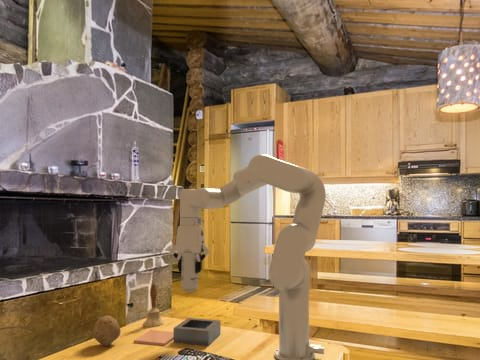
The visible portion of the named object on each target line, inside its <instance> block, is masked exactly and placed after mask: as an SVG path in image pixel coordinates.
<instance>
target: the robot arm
mask: <svg viewBox="0 0 480 360" xmlns="http://www.w3.org/2000/svg"><path fill="white" fill-rule="evenodd" d="M266 185H269V186H271V187H274V188H277V189H279V190H282V191H285V192H287V193H293V194H299V195H298V196H299V200H298V202H297V204H296V207H295V209H294V213H293V219H292V221H291V223H289V224H287V225H284V227H282V228H281V230H280V231H279V233H278V235H277V237H276V241H275V244H274V249H273V252H272V257H271V259H270V260H271V261H270V265H269V267H268V268H269V269H268V278H269V281H270V282H271V284H272V285H273V287H275V288H276V289H277V290H279V292H278V293H279V294H278V331H279V332H278V334H279V335H278V342H279V343H278V344H279V347H277V348H276V349H275V350H274V357H275V358H276V359H277V360H314V359H315V356H316V354H319V355H324V354H325V347H324V346H323V347H322V346H321V345H320V344H314V343H312V339H310V284H311V283H310V282H311V268H310V265H309V263H308V260H306V258H305V256H306V253H307V252H309V251H311V250H312V249H313V248H314V246H315V244H316V241H317V237H318V233H319V229H320V225H321V220H322V216H323V212H324V207H325V204H326V195H327V194H326V188H325V184H324V182H323V181H322V180H321V178H320V177H319V176H318V175H317V174H316V173H315V172H314V171H312V170H311V169H308V168H307V167H306V168H305V167H303V166H300V165H295V164H292V163H290V162H286V161H285V160H281V159H279V158H276V157H275V156H271V155H269V154H266V153H265V154H263V153H260V154H259V153H258V154H257V155H254V156H253V157H252V158H251V159H250V160H249V162H248V164H247V165H246V166H245V167H243V168H241V169H239V170H237V171H235V172H234V173H233V176H232V180H231V181H229V182H228V183H226V184H224V185H222V186H220V187H218V188H212V187H209V188H208V187H201V188H184V189H181V191H180V196H179V198H180V199H179V226H178V227H177V232H176V237H175V238H176V239H175V244H174V245H173V246H172V247H171V249H169V251H170V253H171V254H172V255H173V256H174V258H175V259H176V261H177V269H178V273H182V253H183V252H184V251H185V249H190V251H191V252H192V253H194V254H195V256H196V258H197V262H196V273H198V274H199V273H201V271H202V270H203V267H202V266H203V263H202V262H203V260H204V259H205V258H206V257H207V256H208V255H209V254H210V253H211V250H210V249H209V248H208V247H207V246H206V243H205V242H206V241H205V232H204V226H202V224H204V223H205V219H202V216H201V209H202V210H212V209H213V210H218V209H222V208H224V207H227V206H228V205H231V204H233V203H235V202H237V201H238V200H240V199H241V198H243V197H245V196H246V195H247V194H249V193H252V192H253V191H256V190H258V189H260V188H262V187H264V186H266Z"/></svg>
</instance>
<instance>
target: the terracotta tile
mask: <svg viewBox="0 0 480 360" xmlns="http://www.w3.org/2000/svg"><path fill="white" fill-rule="evenodd" d="M173 339H174V331H169V330H167V331H166V330H157V329H149V330H148V331H147V332H145V333H143V334H141V335H139V336H138V337H136V338H135V339H134V340H133V343H135V344H143V345H153V346H167V345H169V343H171V342H172V341H173Z"/></svg>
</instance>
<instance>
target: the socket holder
mask: <svg viewBox="0 0 480 360" xmlns="http://www.w3.org/2000/svg"><path fill="white" fill-rule="evenodd" d="M173 332H174V339H173V340H172V341H173V343H174V344H182V343H183V345H194V346H205V347H209V346H210V345H211V344H212V343H213V342H214V341H215V340H216V339H217V338H218V337H219V336H220V335H221V320H220V319H207V318H193V317H187V318H185V320H182V322H180V323H179V324H177V325H175V326H174V327H173Z"/></svg>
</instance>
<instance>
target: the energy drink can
mask: <svg viewBox="0 0 480 360" xmlns="http://www.w3.org/2000/svg"><path fill="white" fill-rule="evenodd" d="M196 262H197V258H196V256H195V254H194V253H192V252H191V251H190V249H185V251H184V252H183V253H182V272H180V274H181V282H180V283H181V285H180V286H181V289H182V291H183V292H194V291H197V289H198V288H199V273H196Z"/></svg>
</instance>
